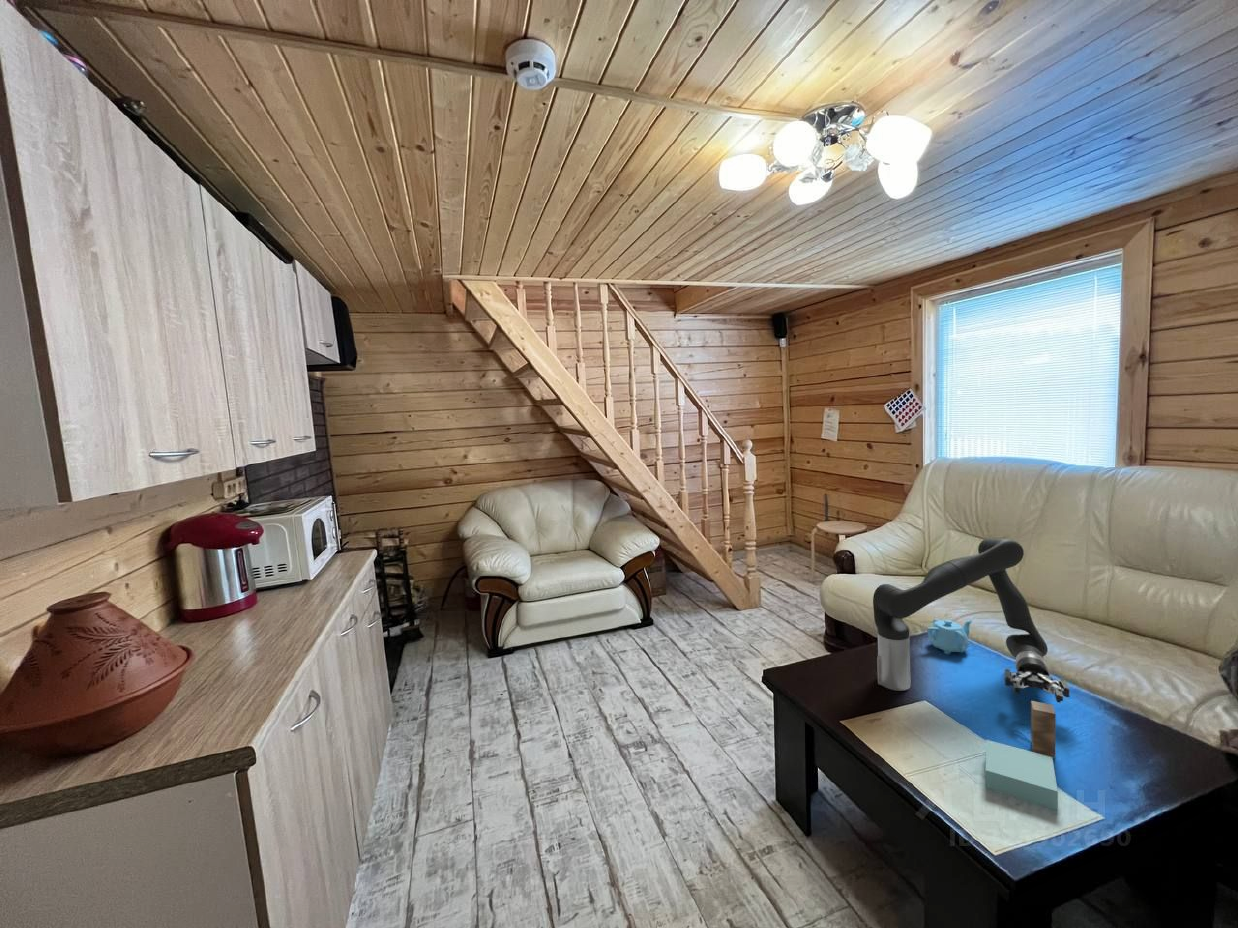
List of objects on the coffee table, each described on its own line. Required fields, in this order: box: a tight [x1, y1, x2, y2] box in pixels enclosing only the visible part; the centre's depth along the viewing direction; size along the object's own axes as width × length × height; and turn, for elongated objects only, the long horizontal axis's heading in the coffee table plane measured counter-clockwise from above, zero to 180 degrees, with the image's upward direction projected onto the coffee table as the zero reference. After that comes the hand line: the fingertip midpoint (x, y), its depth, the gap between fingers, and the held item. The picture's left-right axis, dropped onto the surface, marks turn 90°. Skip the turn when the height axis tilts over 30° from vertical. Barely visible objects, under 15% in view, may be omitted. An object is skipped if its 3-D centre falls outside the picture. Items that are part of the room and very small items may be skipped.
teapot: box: [926, 618, 974, 655], centre depth 185 cm, size 13×14×11 cm
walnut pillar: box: [1030, 700, 1057, 759], centre depth 129 cm, size 4×4×12 cm
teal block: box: [985, 739, 1059, 811], centre depth 120 cm, size 13×13×5 cm
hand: (1038, 695), depth 138 cm, fingers open, 8 cm apart
